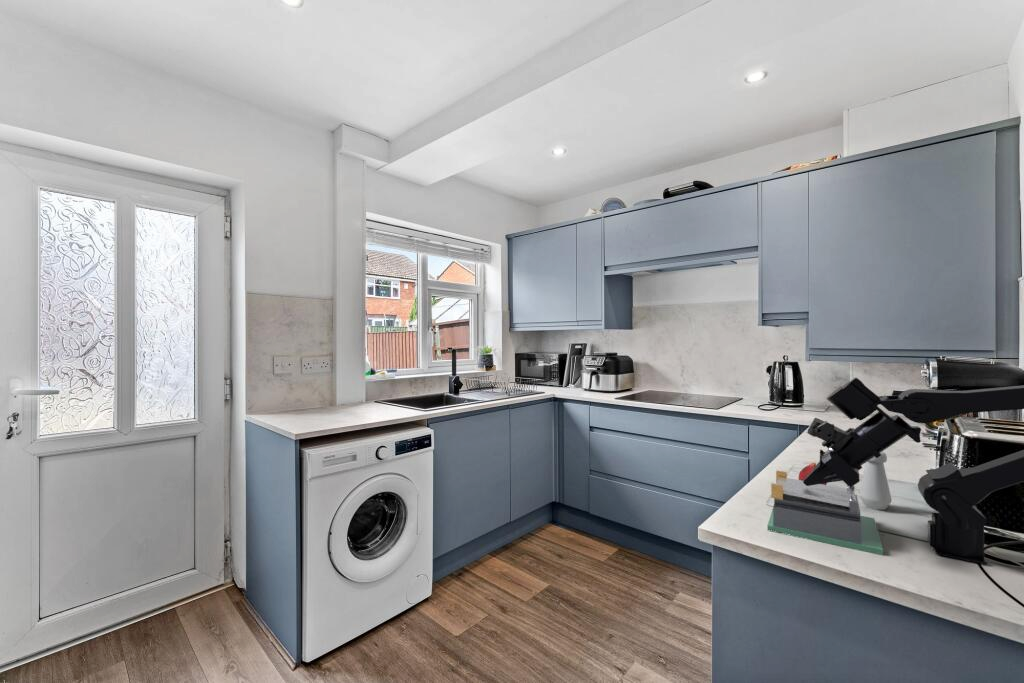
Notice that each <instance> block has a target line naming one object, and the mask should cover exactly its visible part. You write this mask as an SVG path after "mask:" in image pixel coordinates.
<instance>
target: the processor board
mask: <svg viewBox="0 0 1024 683" xmlns="http://www.w3.org/2000/svg"><path fill="white" fill-rule="evenodd" d="M771 510H772V511H771V513H770V516H769V520H768V523H767V531H768V530H772V531H771V532H773V531H776V532H775V533H777V532H781V533H780V534H782V533H786V534H785V535H787V534H790V535H789V536H791V535H794V536H793V537H796V536H798V537H797V538H801V537H802V538H801V539H805V538H807V539H806V540H810V539H811V540H812V541H815V540H816V542H819V541H820V543H825V544H828V543H829V544H830V545H834V546H840V547H843V548H847V549H852V550H856V551H862V552H866V553H871V554H876V555H879V556H880V555H881V556H883V555H884V548H883V544H882V542H881V539H880V534H879V531H878V527H877V523H876V520H875V518H874V517H870V516H865V515H860V519H861V544H856V543H852V542H847V541H842V540H837V539H832V538H828V537H823V536H818V535H813V534H808V533H804V532H799V531H794V530H789V529H784V528H780V527H775V526H773V508H772V509H771ZM829 544H828V545H829Z"/></svg>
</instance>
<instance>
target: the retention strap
mask: <svg viewBox="0 0 1024 683" xmlns="http://www.w3.org/2000/svg"><path fill="white" fill-rule="evenodd" d="M775 484H779V485H783V494H787V495H792V496H797V497H802V498H807V499H812V500H817V501H822V502H827V503H832V504H837V505H842V506H847V507H850V502H849V500H850V501H856V497H855V495H856V492H855V489H854V490H853V489H847V488H843V487H839V486H832V485H828V484H827V485H823V484H817V485H811V486H806V485H805V484H804V483H803V481H801V480H799V479H795V478H789V477H787V478H785V477H778V480H777V483H775Z"/></svg>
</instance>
